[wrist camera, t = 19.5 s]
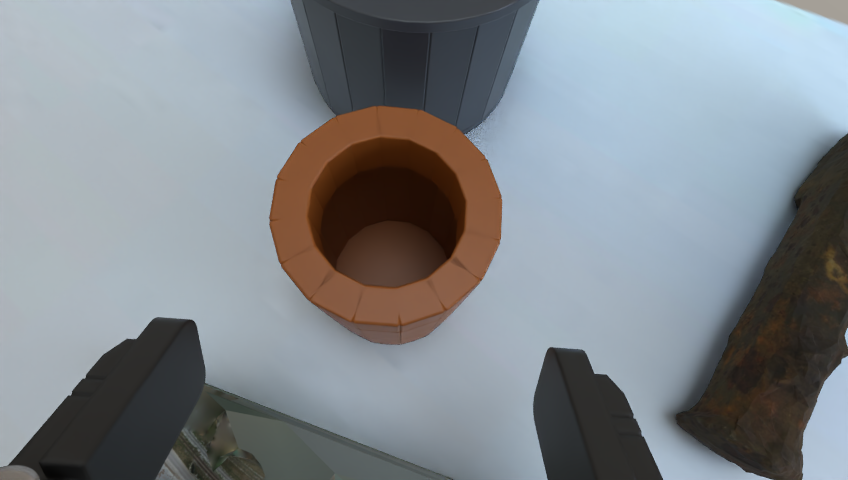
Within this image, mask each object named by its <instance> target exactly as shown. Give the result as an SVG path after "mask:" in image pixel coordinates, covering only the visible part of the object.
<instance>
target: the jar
mask: <svg viewBox="0 0 848 480" xmlns="http://www.w3.org/2000/svg"><path fill="white" fill-rule="evenodd" d="M269 219H270V224H269V225H270V229H271V233H272V237H273V240H274V244H275V248H276V252H277V256H278V260H279V263H280V264H281V267H282V268H283V270H284V271H285V272H286V273H287V275H288V276H289V277H290V278H291V280H292V281H293V282H294V283H295V285H296V286H297V287H298V288H299V290H300V291H301V292H302V293H303V295H304V296H305V297H306V298H307V299H308V300H309V301H310V302H311V303H313V304H314V305H315V306H317V307H318V308H319V309H321V310H322V311H323V312H325V313H326V314H328V315H329V316H330V317H332V318H333V319H334V320H336V321H337V322H339V323H340V324H341V325H343V326H344V327H345V328H347V329H348V330H350V331H351V332H353V333H355V334H357V335H359V336H361V337H363V338H365V339H367V340H369V341H371V342H374V343H381V344H397V345H400V344H404V343H408V342H412V341H415V340H417V339H420V338H422V337H425V336H426V335H428V334H430V333H431V332H432V331H433V330H434V329H435V328H437V327H438V326H439V325H440V324H441V323H442V322H443V321H444V320H446V319H447V318H448V316H449V315H450V314H451V313H452V312H453V311H454V310H455V309H456V308H457V307H458V306H459V305H460V304H461V303H462V302H463V301H464V299H465V298H466V297H467V296H468V295H469V294H470V293H471V292H472V291H473V290H474V289H475V288H476V287H477V285H478V284H479V283H480V282H481V280H482V279H483V278H484V275H485V273H486V271H487V269H488V267H489V265H490V263H491V261H492V259H493V257H494V254H495V252H496V250H497V248H498V246H499V244H500V240H501V220H502V199H501V194H500V191H499V188H498V186H497V183H496V181H495V178H494V176H493V173H492V170H491V168H490V165H489V163H488V160H487V159H486V158H485V156H484V155H483V154H482V153H481V152H480V151H479V150H478V149H477V148H476V147H475V146H474V145H473V143H472V142H471V141H470V140H469V139H468V138H467V137H466V136H465V135H464V134H463V133H462V132H461V131H460V130H459V129H457V127H456V126H454V125H452V124H450V123H447V122H445V121H443V120H441V119H439V118H437V117H435V116H433V115H431V114H429V113H427V112H424V111H422V110H418V109H410V108H399V107H389V106H377V107H376V106H372V107H368V108H364V109H361V110H357V111H353V112H349V113H345V114H342V115H338V116H336V117H335V118H332V119H331V120H329V121H328V122H326V123H325V124H323V125H322V126H321V127H319V128H318V129H316V130H315V131H314V132H312V133H311V134H309V135H308V136H307V137H305V138H304V139H302V140H301V143H298V145H297V146H296V148H295V149H294V151H293V152H292V154H291V156H290V157H289V159H288V160H287V162H286V163H285V165H284V166H283V168H282V169H281V171H280V173H279V174H278V176H277V180H276V182H275V188H274V194H273V200H272V205H271V211H270V217H269Z"/></svg>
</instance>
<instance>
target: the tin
mask: <svg viewBox="0 0 848 480" xmlns="http://www.w3.org/2000/svg"><path fill="white" fill-rule="evenodd" d="M538 3H539V0H532V1H530V2H529V3H527V4H526V5H524V6H523V7H521V8H519V9H518V10H516V11H515V12H512V13H510V14H508V15H506V16H504V17H502V18H499V19H497V20H495V21H492V22H489V23H485V24H482V25H479V26H476V27H472V28H467V29H462V30H456V31H450V32H436V33H413V32H400V31H393V30H387V29H381V28H377V27H373V26H369V25H366V24H362V23H358V22H356V21H353V20H351V19H348V18H346V17H343V16H340V15H338V14H336V13H334V12H332V11H330V10H328V9H327V8H325V7H323V6H321V5H319V4H317V3H316V2H314V1H313V0H291V4H292V7H293V10H294V14H295V17H296V20H297V24H298V27H299V30H300V34H301V37H302V40H303V44H304V47H305V50H306V54H307V57H308V60H309V64H310V67H311V70H312V74H313V77H314V80H315V83H316V85H317V86H318V89H319V91H320V93H321V95H322V96H323V98H324V100H325V102H326V103H327V104H328V106H329V107H330V108H331V109H332V111H333V112H334V113H335V114H336V115H337V116H338V115H342V114H345V113H349V112H353V111H357V110H361V109H364V108H368V107H372V106H376V107H377V106H389V107H399V108H410V109H418V110H422V111H424V112H427V113H429V114H431V115H433V116H435V117H437V118H439V119H441V120H443V121H445V122H447V123H450V124H452V125H454V126H456V127H457V129H459V130H460V131H461V132H462V133H463V134H465V133H467V132H469V131H470V130H472V129H473V128H475V127H476V126H478V125H479V124H480V123H481V122H482V121H484V120H485V119H486V118H487V117H488V116H489V115H490V113H491V112H492V111H493V110H494V109H495V108H496V106H497V104H498V103H499V101H500V100H501V98H502V96H503V94H504V91H505V89H506V86H507V84H508V81H509V79H510V77H511V74H512V71H513V69H514V66H515V64H516V61H517V58H518V56H519V53H520V50H521V48H522V45H523V42H524V40H525V37H526V34H527V32H528V29H529V27H530V24H531V21H532V19H533V16H534V13H535V11H536V8H537V5H538Z"/></svg>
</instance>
